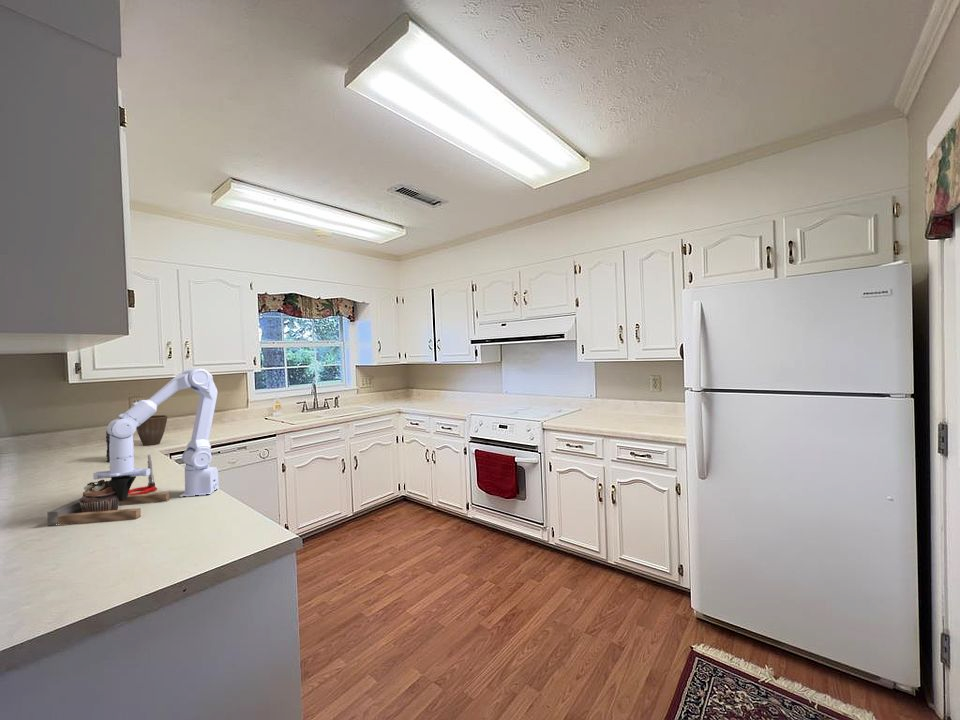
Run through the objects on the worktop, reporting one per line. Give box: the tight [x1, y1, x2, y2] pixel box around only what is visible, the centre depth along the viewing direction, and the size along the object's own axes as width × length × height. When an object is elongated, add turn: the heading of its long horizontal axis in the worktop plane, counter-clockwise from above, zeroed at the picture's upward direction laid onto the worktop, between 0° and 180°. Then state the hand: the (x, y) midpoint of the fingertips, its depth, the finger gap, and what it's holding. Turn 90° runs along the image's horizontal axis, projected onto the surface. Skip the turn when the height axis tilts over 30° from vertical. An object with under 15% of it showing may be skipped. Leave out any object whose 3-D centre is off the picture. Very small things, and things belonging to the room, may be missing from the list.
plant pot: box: [136, 414, 168, 447], centre depth 234 cm, size 15×15×16 cm
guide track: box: [46, 491, 171, 526], centre depth 126 cm, size 22×17×4 cm
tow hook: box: [128, 454, 158, 495], centre depth 145 cm, size 8×13×9 cm
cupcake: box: [79, 479, 120, 513], centre depth 125 cm, size 10×10×10 cm
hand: (122, 500), depth 126 cm, fingers closed
